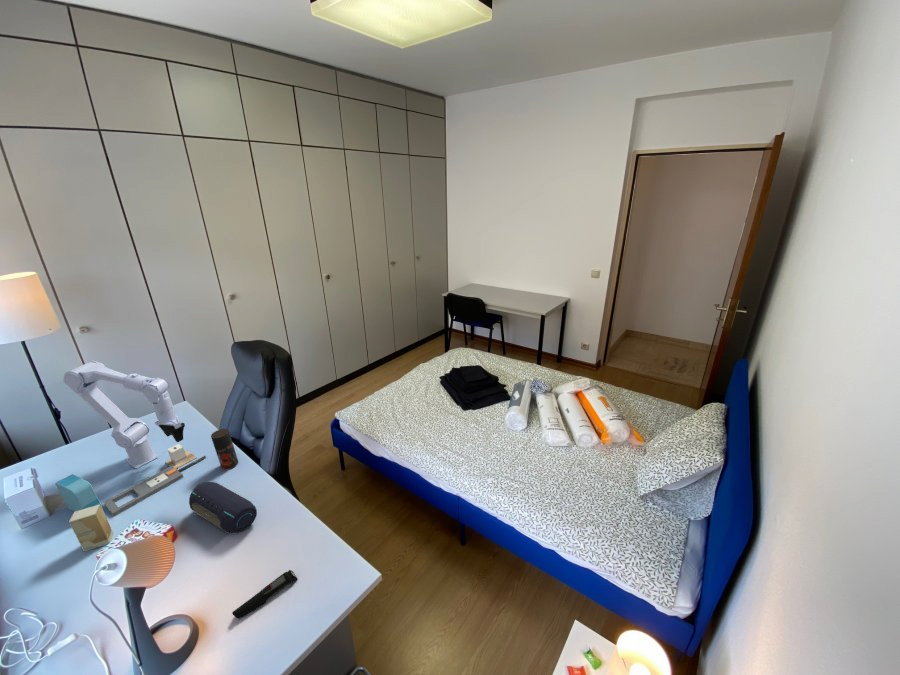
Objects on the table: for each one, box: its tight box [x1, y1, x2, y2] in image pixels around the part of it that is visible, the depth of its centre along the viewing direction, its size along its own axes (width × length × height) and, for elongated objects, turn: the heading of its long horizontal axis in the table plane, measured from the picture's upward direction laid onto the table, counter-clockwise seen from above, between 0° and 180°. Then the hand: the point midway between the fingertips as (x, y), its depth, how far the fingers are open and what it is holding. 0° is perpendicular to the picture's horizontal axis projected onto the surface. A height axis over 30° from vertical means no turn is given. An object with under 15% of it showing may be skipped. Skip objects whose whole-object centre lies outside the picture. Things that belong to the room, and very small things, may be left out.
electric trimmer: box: [231, 569, 298, 620], centre depth 95 cm, size 4×16×3 cm, turn 135°
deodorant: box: [210, 428, 239, 471], centre depth 141 cm, size 6×6×15 cm
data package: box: [55, 474, 103, 513], centre depth 122 cm, size 12×4×12 cm, turn 67°
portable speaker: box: [188, 481, 258, 534], centre depth 118 cm, size 25×10×10 cm, turn 62°
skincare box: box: [68, 504, 114, 552], centre depth 110 cm, size 6×4×12 cm
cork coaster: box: [165, 450, 198, 470], centre depth 146 cm, size 8×8×1 cm
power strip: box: [103, 455, 207, 517], centre depth 135 cm, size 9×31×2 cm, turn 147°
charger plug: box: [167, 443, 187, 465], centre depth 145 cm, size 4×4×6 cm
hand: (175, 437), depth 143 cm, fingers open, 7 cm apart
